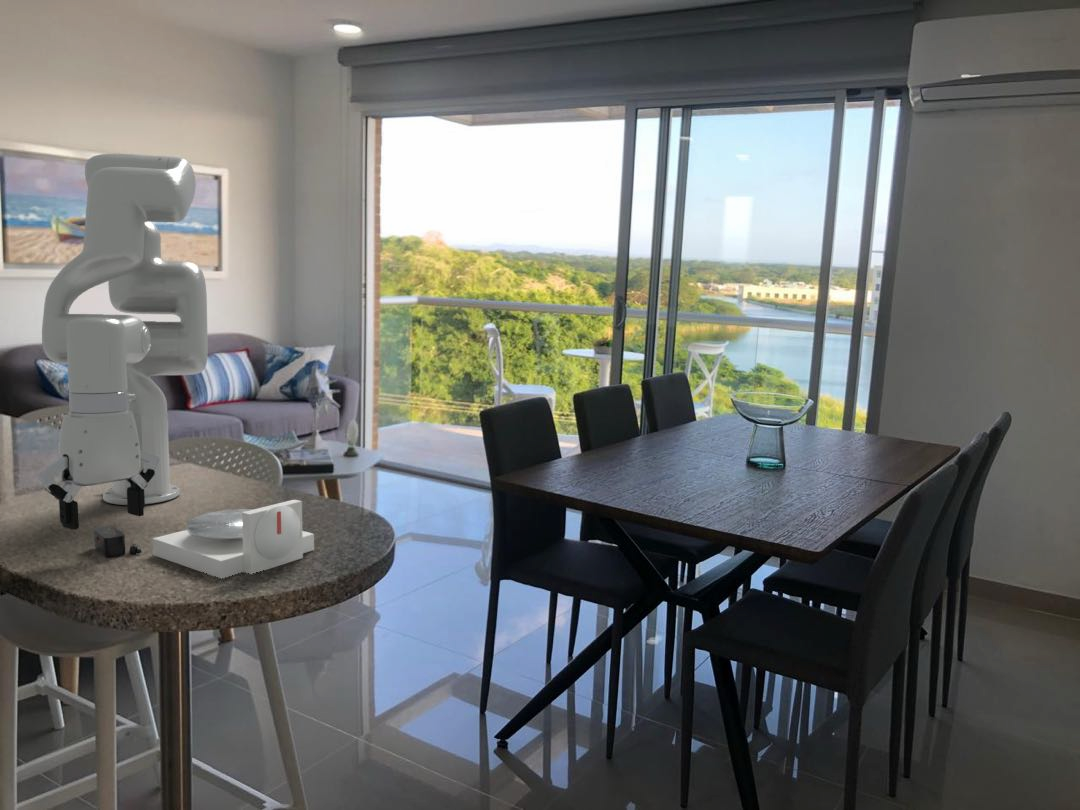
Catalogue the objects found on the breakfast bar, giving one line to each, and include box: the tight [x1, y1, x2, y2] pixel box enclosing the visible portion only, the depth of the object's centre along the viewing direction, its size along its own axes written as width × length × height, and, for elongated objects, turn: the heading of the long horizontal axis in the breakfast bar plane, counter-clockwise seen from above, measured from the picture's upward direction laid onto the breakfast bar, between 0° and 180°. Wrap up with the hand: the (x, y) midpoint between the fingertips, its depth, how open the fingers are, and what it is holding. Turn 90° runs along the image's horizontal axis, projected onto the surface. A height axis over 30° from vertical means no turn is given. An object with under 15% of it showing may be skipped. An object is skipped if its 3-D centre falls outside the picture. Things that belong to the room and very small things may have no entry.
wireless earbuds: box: [93, 525, 143, 559], centre depth 128 cm, size 5×7×3 cm, turn 41°
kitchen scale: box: [152, 499, 315, 580], centre depth 128 cm, size 18×16×9 cm
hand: (104, 521), depth 127 cm, fingers open, 9 cm apart
